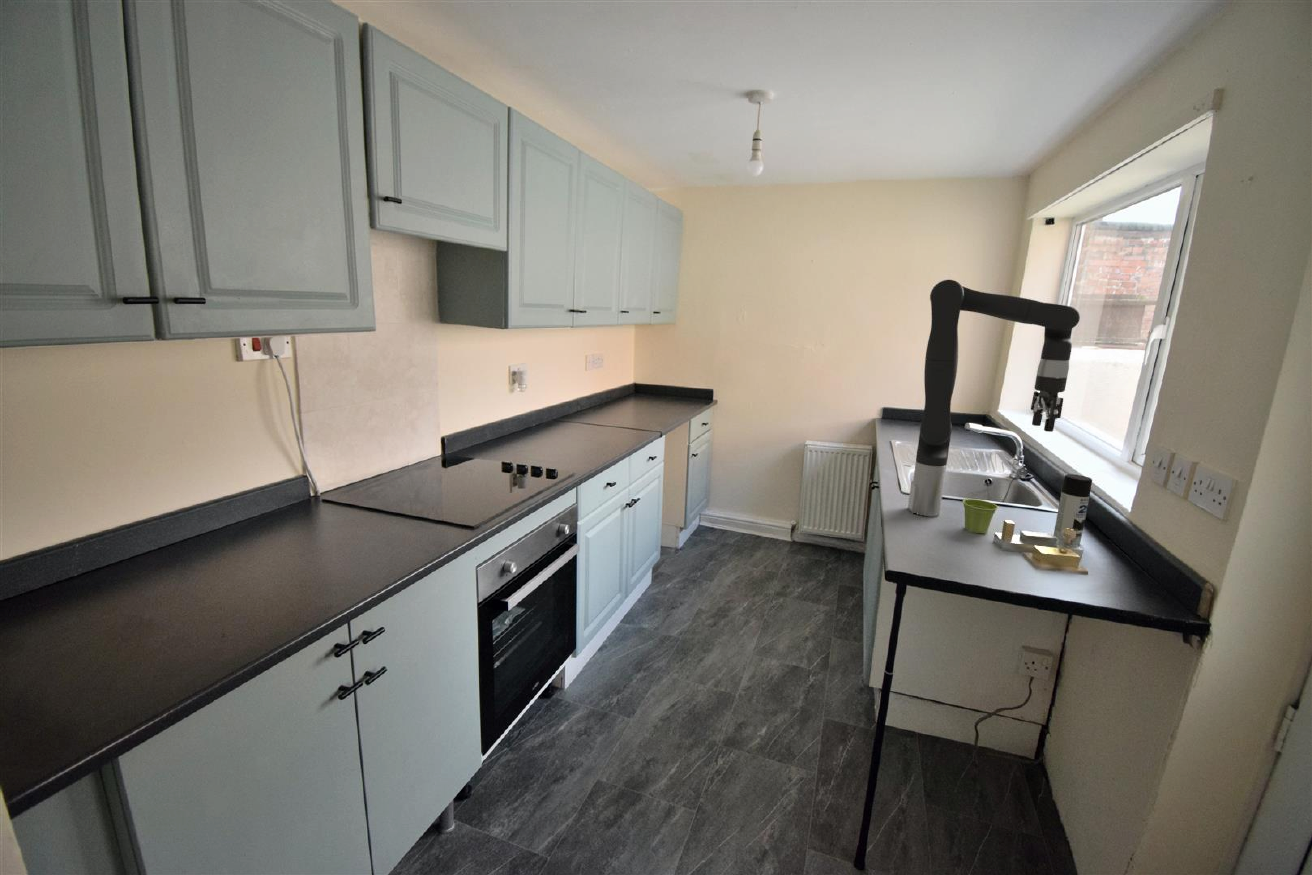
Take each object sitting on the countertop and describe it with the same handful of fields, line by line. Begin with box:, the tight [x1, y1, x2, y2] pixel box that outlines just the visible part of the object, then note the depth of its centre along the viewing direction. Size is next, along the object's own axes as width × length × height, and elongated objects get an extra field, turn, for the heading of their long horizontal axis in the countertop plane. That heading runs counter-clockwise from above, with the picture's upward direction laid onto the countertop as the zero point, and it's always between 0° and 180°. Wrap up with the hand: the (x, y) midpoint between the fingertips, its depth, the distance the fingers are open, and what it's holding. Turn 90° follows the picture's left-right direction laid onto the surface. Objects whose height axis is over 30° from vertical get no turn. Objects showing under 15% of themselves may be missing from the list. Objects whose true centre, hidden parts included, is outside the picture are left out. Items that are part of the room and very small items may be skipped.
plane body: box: [992, 519, 1084, 559], centre depth 160 cm, size 20×7×8 cm, turn 78°
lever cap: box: [1032, 546, 1081, 568], centre depth 151 cm, size 9×5×4 cm, turn 78°
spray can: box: [1053, 473, 1093, 546], centre depth 165 cm, size 7×7×20 cm
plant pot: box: [962, 498, 999, 535], centre depth 173 cm, size 9×9×9 cm
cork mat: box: [1022, 552, 1089, 575], centre depth 151 cm, size 12×9×1 cm
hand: (1042, 428), depth 170 cm, fingers open, 8 cm apart
